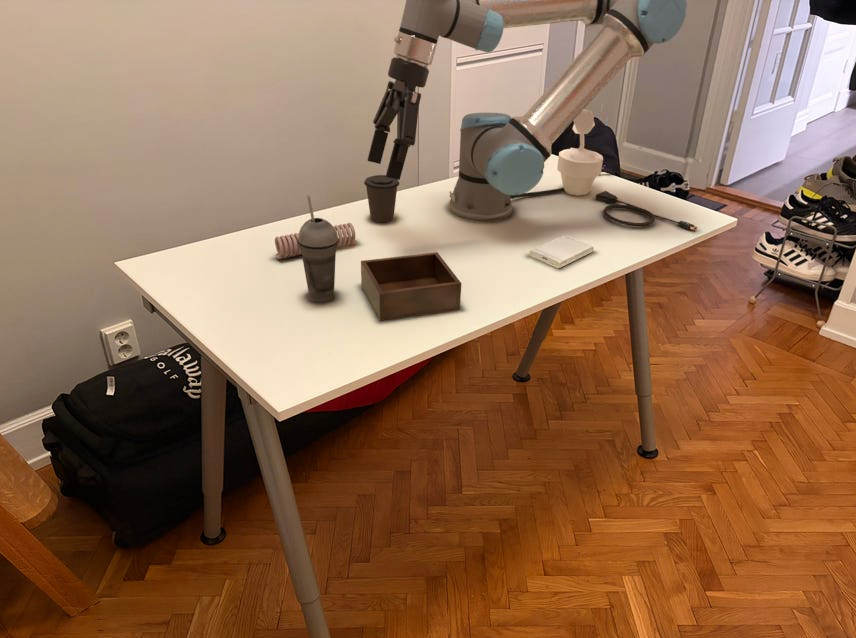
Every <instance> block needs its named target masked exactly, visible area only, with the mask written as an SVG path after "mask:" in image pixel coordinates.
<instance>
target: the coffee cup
mask: <svg viewBox="0 0 856 638" xmlns="http://www.w3.org/2000/svg"><path fill="white" fill-rule="evenodd" d="M363 184H364V185H365V187H366V194H367V201H368V208H369V215H370V216H369V217H370V221H371V222H373V223H376V224H383V225H385V224H389V223H392V222H393V221H394V218H395V209H396V201H397V200H396V199H397V194H398V193H397V192H398V187H399V185H400V180H398V179H394V178H390V177H386V174H377V175H370V176H368V177H367V178H365V180H364V181H363Z"/></svg>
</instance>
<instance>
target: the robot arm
mask: <svg viewBox="0 0 856 638" xmlns="http://www.w3.org/2000/svg"><path fill="white" fill-rule="evenodd" d="M687 7H688V4H687V0H405V4H404V9H403V13H402V17H401V21H400V26H399V29H398V33H397V36H395V37H394V38H393V41H394V43H395V45H394V49H393V54H394V55H395V56H393V57H392V58H391V60H390V63H389V68H388V71H387V75H388V77H389V78H391V79H393V80H394V81H392V80H389V81H388V82H387V85H386V89H385V92H384V95H383V97H382V99H381V101H380V104H379V106H378V109H377V111H376V114H375V116H374V118H373V120H372V123H373V125H374V129H375V130H374V131H373V132H374V133H373V136H372V140H371V144H370V148H369V152H368V156H367V161H368V162H371V163H374V164H379V165H381V163H382V160H383V156H384V153H385V149H386V143H387V140H388V137H389V133H391V125H392V124H393V121H394V120H395V119H397V120H396V138H395V139H394V140H393V142H392V143H393V148H392V150H391V155H390V158H389V162H388V166H387V170H386V172H385V175H386V177H390V178H394V179H398V181H400V180H401V177H402V173H403V171H404V170H403V169H404V166H405V163H406V159H407V156H408V155H407V154H408V152H409V151H408V150H409V148H410V147H411V146H412V147H414V146H415V144H416V136H417V127H418V118H419V108H420V103H421V98H422V94H421V92H417V91H416V88H417V87H418V88H422V89H423V88H425V87H426V85H427V80H428V77H429V73H430V69H429V68H428V66H432V64H433V60H434V57H435V52H436V49H437V45H438V40H439V37H441V38H444V39H448V40H450V41H452V42H455V43H458V44H461V45H463V46H466V47H468V48H472V49H474V50H475V51H481V52H483V53H492V52H494V50H495V49H496V48H497V47H498V45H499V44H500V42H501V39H502V37H503V34H504V29H512V28H520V27H522V28H523V27H530V26H539V25H540V26H541V25H550V24H558V23H568V22H569V23H570V22H578V21H580V23H581V24H582V25H585V26H589V25H602V28H601V29H600V30H599V31H598V32H597V34H596V35H595V36H594V37H592V39H591V40H590V41H589V42H588V44H587V45H585V47H584V48H583V49H582V50H581V51H580V52H579V54H578V55H577V56H576V57H575V58H574V59H573V60H572V61H571V63H570V64H569V65H568V66H567V67H565V69H564V70H563V72H562V73H560V74H559V76H558V77H557V78H556V79H555V80H554V81H553V83H552V84H551V85H549V87H548V88H547V89H546V90H545V91H544V93H542V95H541V96H540V97H539V98H538V99H537V100H536V101H535V103H534V104H533V105H532V106H530V108H529V109H528V110H527V111H526V112H525V114H524V115H519V116H511V115H509V114H506V113H502V112H473V113H472V112H471V113H468V114H465V115H463V117H462V118H461V125H460V129H459V131H460V139H459V160H458V162H459V163H458V178H457V180H456V183H455V185H454V188H453V191H451V190H449V198H450V199H449V210H450V212H451V213H452V214H454V215H455V216H456V217H457V216H458V217H459V218H462V219H465V220H468V221H469V220H470V221H476V222H494V221H500V220H504V219H506V218H508V217H509V216H510V215H511V214H512V210H513V209H512V208H513V202H512V199H517V198H526V197H533V196H535V197H536V196H543V195H550V194H556V193H562V192H565V191H564V188H563V187H559V188H553V189H548V190H541V191H532V190H533V189H534V188H535V187H536V186H537V185H538V184H539V183H540V181H541V180H542V177H543V175H544V169H545V163H546V161H547V160H549V158H550V156H552V146H553V144H554V142H555V141H556V140H557V139H558V138H559V137H560V136H561V135H562V133H564V132H565V130H566V129H567V128H568V127H569V126H570V125H571V124H572V123H573V122H574V121H573V120H574V119H575V118H576V117H577V116H578V115H579V114H580V113H581V112H582V111H583V110H585V108H587V106H588V105H589V104H591V102H592V101H593V100H594V99H595V97H597V96H598V94H599V93H600V92H601V91H602V90H603V89H604V88H605V87H606V86H607V84H608V83H610V82H611V80H612V79H613V78H614V77H615V76H616V75H617V74H618V73H619V72H620V70H622V68H624V66H625V65H626V64H627V63H628V62H629V61H630V60H631V59H632V58H642V57H643V56H645V54H646V53H647V52H648V51H649V50H650V49H651V48H652V47H653V46H654V45H655V44H658V45H660V44H663V43H668V42H669V41H671V40H672V39H674V37H675V36H677V35H678V34H679V32H680V30H681V29H682V27H683V25H684V23H685V19H686V16H687V14H686V11H687ZM601 173H609V174H610V175H612V176H616V172H615V171H613V170H612V169H611V168H602V169H601ZM530 191H531V192H530Z"/></svg>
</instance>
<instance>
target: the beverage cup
mask: <svg viewBox="0 0 856 638" xmlns="http://www.w3.org/2000/svg"><path fill="white" fill-rule="evenodd" d="M306 198H307V204H308V208H309V215H310V219H308V220H306V221H305V222H304V223H303V224H302V225H301V227H300V229H299V231H298V233H299V238H298V244H299V247H300V251H301V253H302V255H301V256H302V262H303V268H304V275H305V281H306V286H307V291H308V295H309V299H310V300H312V301H313V302H318V303H324V302H329V301H331V300H333V298H334V294H335V279H336V256H337V249H338V247H337V243H338V238H339V236H338V237H337V234H338V232H337V233H336V231H335V229H334V227H333V225H332V224H331V222H329V220H326V219H325V218H322V217H321V218H320V217H315V215H314V210H313V205H312V200H311V195H310V194H307V195H306Z"/></svg>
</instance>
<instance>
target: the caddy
mask: <svg viewBox="0 0 856 638" xmlns="http://www.w3.org/2000/svg"><path fill="white" fill-rule="evenodd" d="M360 279H361V280H360V281H361V282H360V283H361V288H362V290H363V292H364V294H365V297H366V298H367V299H368V301H369V303H370V305H371V307H372V309H373V310H374V312H375V315H376V316H377V319H378V320H379V321H381V322H382V321H388V320H394V319H402V318H409V317H415V316H423V315H431V314H436V313H443V312H450V311H458V310H460V309H461V299H462V298H461V297H462V296H461V295H462V282H461V281H460V279H459V277H457V275H456V274H455V273H454V272H453V270H452V269H451V267H450V266H449V265H448V264H447V262H446V261H445V260H444V258H443V257H442V256H441V254H439V252H437V251H436V252H435V251H434V252H427V253H417V254H410V255H409V254H408V255H401V256H392V257H383V258H373V259H366V260H360Z"/></svg>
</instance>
